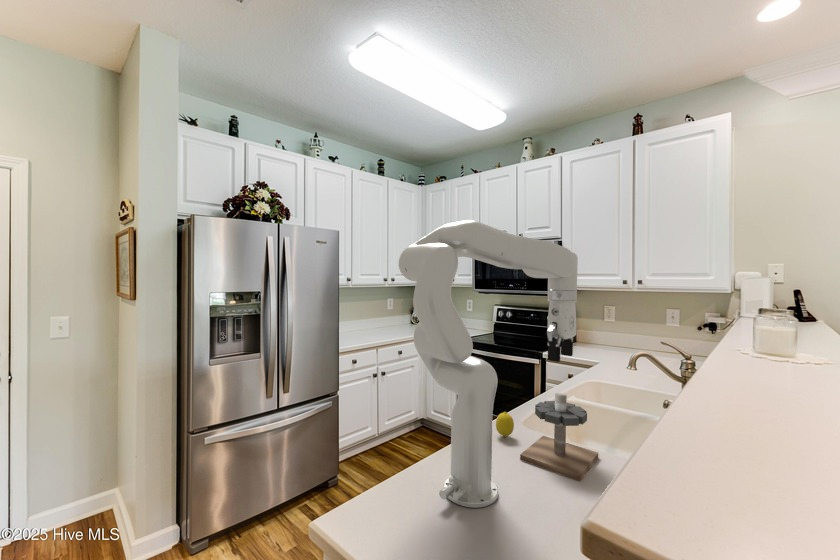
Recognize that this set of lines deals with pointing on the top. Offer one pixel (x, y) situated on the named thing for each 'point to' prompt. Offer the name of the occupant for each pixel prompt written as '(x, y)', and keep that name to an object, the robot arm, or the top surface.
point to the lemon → (504, 424)
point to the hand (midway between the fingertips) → (560, 358)
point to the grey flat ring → (561, 414)
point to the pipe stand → (560, 451)
